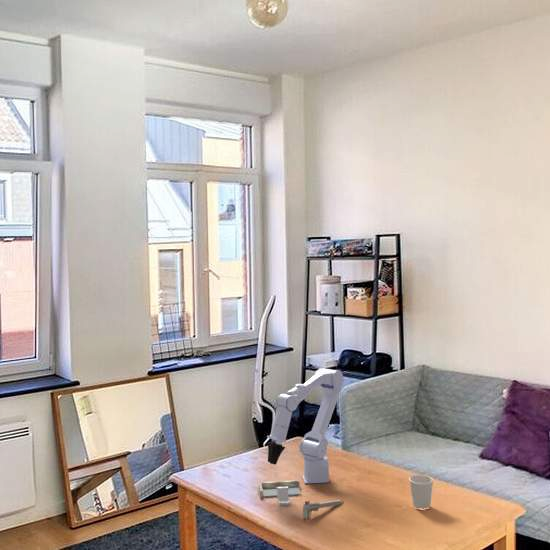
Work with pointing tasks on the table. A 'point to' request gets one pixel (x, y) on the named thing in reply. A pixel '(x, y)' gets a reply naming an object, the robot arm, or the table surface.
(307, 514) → the caliper
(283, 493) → the bracket
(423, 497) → the dixie cup
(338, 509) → the table surface
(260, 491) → the side wall
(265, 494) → the board
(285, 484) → the back wall
